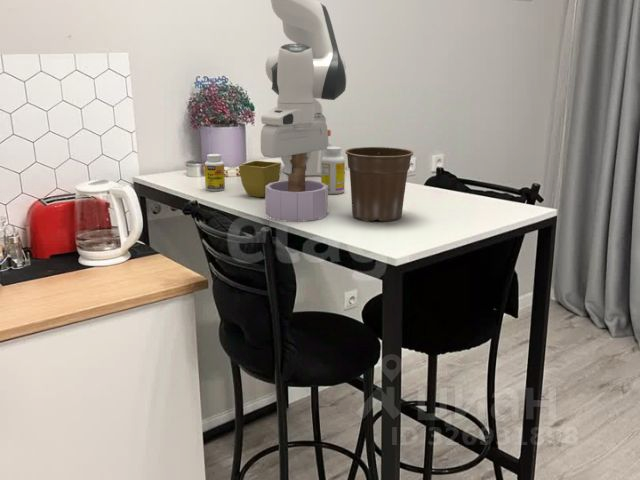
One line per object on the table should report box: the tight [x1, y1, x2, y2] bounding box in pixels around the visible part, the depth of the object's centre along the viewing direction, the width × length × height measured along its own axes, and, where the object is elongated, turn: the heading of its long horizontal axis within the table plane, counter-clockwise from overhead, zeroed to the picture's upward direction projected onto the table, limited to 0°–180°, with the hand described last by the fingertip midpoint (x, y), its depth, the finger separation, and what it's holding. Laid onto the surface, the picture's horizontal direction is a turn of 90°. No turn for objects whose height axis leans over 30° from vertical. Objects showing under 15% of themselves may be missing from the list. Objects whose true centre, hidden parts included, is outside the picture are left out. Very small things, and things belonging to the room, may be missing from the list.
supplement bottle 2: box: [320, 146, 346, 195], centre depth 183 cm, size 7×7×13 cm
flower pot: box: [238, 160, 282, 198], centre depth 180 cm, size 9×9×9 cm
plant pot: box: [345, 146, 414, 222], centre depth 157 cm, size 16×16×16 cm
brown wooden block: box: [287, 137, 306, 192], centre depth 157 cm, size 3×3×14 cm
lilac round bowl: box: [264, 179, 329, 222], centre depth 160 cm, size 15×15×7 cm
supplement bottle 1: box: [204, 153, 226, 192], centre depth 186 cm, size 6×6×10 cm
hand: (296, 172), depth 158 cm, fingers closed on brown wooden block, 3 cm apart
